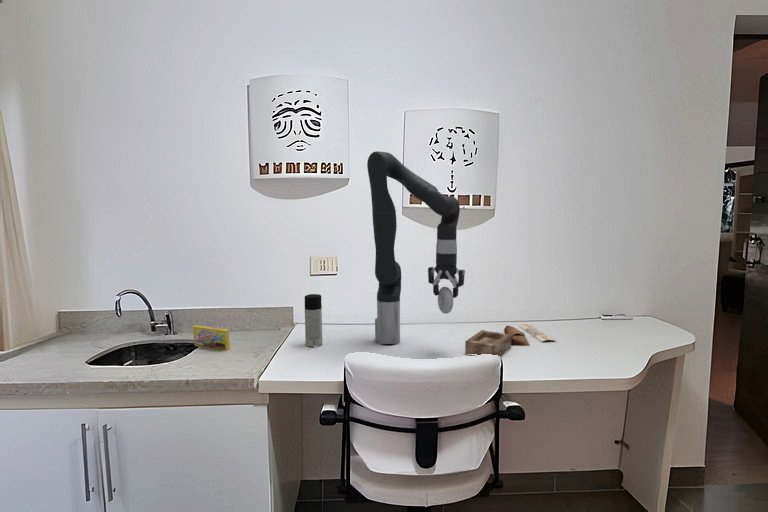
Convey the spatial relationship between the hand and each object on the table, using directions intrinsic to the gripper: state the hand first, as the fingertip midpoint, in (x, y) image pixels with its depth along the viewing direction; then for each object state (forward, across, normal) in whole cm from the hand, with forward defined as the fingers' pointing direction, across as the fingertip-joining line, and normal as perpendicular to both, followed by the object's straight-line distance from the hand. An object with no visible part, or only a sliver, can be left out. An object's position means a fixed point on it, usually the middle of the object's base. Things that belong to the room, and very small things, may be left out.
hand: (445, 296), depth 166 cm
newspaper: (+22, +22, +42) cm, 53 cm away
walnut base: (+22, +13, +11) cm, 28 cm away
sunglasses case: (+22, +18, +31) cm, 42 cm away
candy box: (+22, -79, -43) cm, 93 cm away
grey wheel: (+7, 0, 0) cm, 7 cm away
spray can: (+22, -48, -19) cm, 56 cm away
